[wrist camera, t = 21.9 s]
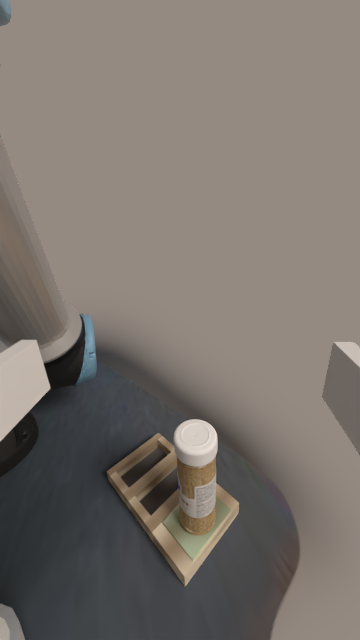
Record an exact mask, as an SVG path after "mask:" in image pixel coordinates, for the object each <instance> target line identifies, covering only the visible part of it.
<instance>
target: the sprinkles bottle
mask: <svg viewBox="0 0 360 640" xmlns="http://www.w3.org/2000/svg"><path fill="white" fill-rule="evenodd" d="M174 450H175V454H176V456H177V468H178V471H177V476H178V492H179V503H180V511H179V516H180V521H181V524H182V526H183V527H184V528H185V530H187V532H189V533H191V534H193V535H205V534H206V533H208V532H209V531H210V530H211V529H212V528H213V526H214V524H215V520H216V512H215V502H216V453H217V433H216V431H215V429H214V428H213V427H212V426H211V425H210V424H208V423H207V422H205V421H203V420H196V419H193V420H188V421H185V422H183V423H181V424H180V425H179V426H178V427H177V429H176V430H175V433H174Z"/></svg>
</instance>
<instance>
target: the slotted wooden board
mask: <svg viewBox="0 0 360 640" xmlns="http://www.w3.org/2000/svg"><path fill="white" fill-rule="evenodd" d="M177 471H178V468H177V456H176V454H175V450H174V446H173V445H172V444H171V443H170V442H168V441H167V440H166V439H165V438H164V437H163V436H162V435H160V434H159V433H158V434H156V435H155V436H154V437H152V438H151V439H150V440H148V441H147V442H146V443H144V444H143V445H142V446H140V447H139V448H138V449H136V450H135V451H134V452H132V453H131V454H130V455H128V456H127V457H126V458H124V459H123V460H122V461H120V462H119V463H117V464H116V465H115V466H113V467H112V468H111V469H109V470H108V471H107V475H108V480H109V482H110V483H111V485H112V486H113V487H114V489H115V490H116V492H117V493H118V494H119V496H120V497H121V498H122V500H123V501H124V503H125V504H126V505H127V507H128V508H129V510H130V511H131V512H132V514H133V515H134V516H135V518H136V519H137V521H138V522H139V523H140V525H141V526H142V528H143V529H144V530H145V532H146V533H147V534H148V536H149V537H150V539H151V540H152V541H153V543H154V544H155V546H156V547H157V548H158V550H159V551H160V552H161V554H162V555H163V557H164V558H165V559H166V561H167V562H168V564H169V565H170V566H171V568H172V569H173V570H174V572H175V573H176V575H177V576H178V577H179V579H180V580H181V582H182V583H183V584H184V586H186V585H187V583H188V582H189V581H190V579H191V578H192V577H193V575H194V574H195V572H196V571H197V570H198V568H199V567H200V565H201V564H202V563H203V561H204V560H205V559H206V557H207V556H208V554H209V553H210V552H211V550H212V549H213V548H214V546H215V545H216V543H217V542H218V541H219V539H220V538H221V536H222V535H223V534H224V532H225V531H226V530H227V528H228V527H229V525H230V524H231V523H232V521H233V520H234V519H235V517H236V516H237V514H238V513H239V503H238V502H237V501H236V500H235V499H234V498H233V497H232V496H230V495H229V494H228V493H227V492H226V491H225V490H223V489H222V488H221V487H220V486H219V485H218V484H217V483H216V502H215V512H216V520H215V524H214V526H213V528H212V529H211V530H210V531H209V532H208V533H206V534H205V535H193V534H191V533H189V532H187V530H185V528H184V527H183V526H182V524H181V521H180V516H179V511H180V503H179V492H178V476H177Z"/></svg>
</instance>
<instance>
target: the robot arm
mask: <svg viewBox="0 0 360 640" xmlns="http://www.w3.org/2000/svg"><path fill="white" fill-rule="evenodd" d="M10 18H11V8H10V1H9V0H0V26H2V25H6V24H8V23H9V22H10ZM95 375H96V354H95V339H94V330H93V322H92V318H91V317H90V316H89V315H83V314H79V313H78V312H77V310H76V309H75V308H74V307H73V306H72V305H70V304H69V303H67V302H65V301H63V300H62V298H61V295H60V292H59V290H58V287H57V285H56V282H55V279H54V277H53V274H52V271H51V268H50V266H49V263H48V261H47V258H46V255H45V253H44V250H43V247H42V245H41V242H40V239H39V237H38V234H37V232H36V229H35V226H34V223H33V221H32V218H31V215H30V213H29V210H28V208H27V205H26V202H25V200H24V197H23V194H22V192H21V189H20V186H19V184H18V181H17V178H16V176H15V173H14V170H13V168H12V165H11V163H10V160H9V157H8V155H7V152H6V149H5V147H4V144H3V141H2V139H1V136H0V476H2V475H3V474H5V473H6V472H8V471H9V470H10V469H12V468H13V467H14V466H16V465H17V464H18V463H19V462H20V461H21V460H22V459H23V458H24V457H25V456H26V455H27V454H28V453H29V452H30V450H31V449H32V447H33V446H34V444H35V442H36V440H37V437H38V432H39V431H38V426H37V423H36V420H35V418H34V416H33V415H32V414H31V413H30V412H29V411H30V410H31V409H32V407H33V406H34V405H35V404H36V403H37V402H38V401H39V400H40V399H41V398H42V397H43V396H44V395H45V394H46V393H47V392H48V390H52V389H57V388H62V387H67V386H71V385H72V386H77V385H78V384H80V383H83V382H87V381H90V380H92V379H93V378H94V377H95ZM322 397H323V399H324V401H325V402H326V404H327V405H328V407H329V408H330V410H331V411H332V413H333V414H334V416H335V417H336V419H337V420H338V422H339V424H340V425H341V426H342V428H343V430H344V431H345V433H346V434H347V436H348V438H349V439H350V441H351V442H352V444H353V445H354V446H355V448H356V450H357V451H358V453H359V455H360V347H359V346H358V345H356V344H355V343H354V342H333V346H332V351H331V356H330V361H329V365H328V370H327V375H326V380H325V385H324V389H323V395H322Z"/></svg>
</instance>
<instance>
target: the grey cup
mask: <svg viewBox="0 0 360 640" xmlns="http://www.w3.org/2000/svg"><path fill="white" fill-rule="evenodd" d="M0 640H25V638H24V635H23V632H22V628H21V625H20V622H19V620H18V618H17V616H16V614H15V613H14V611H13V609H12V608H10V607H8V606H5V605H3V604H0Z"/></svg>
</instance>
